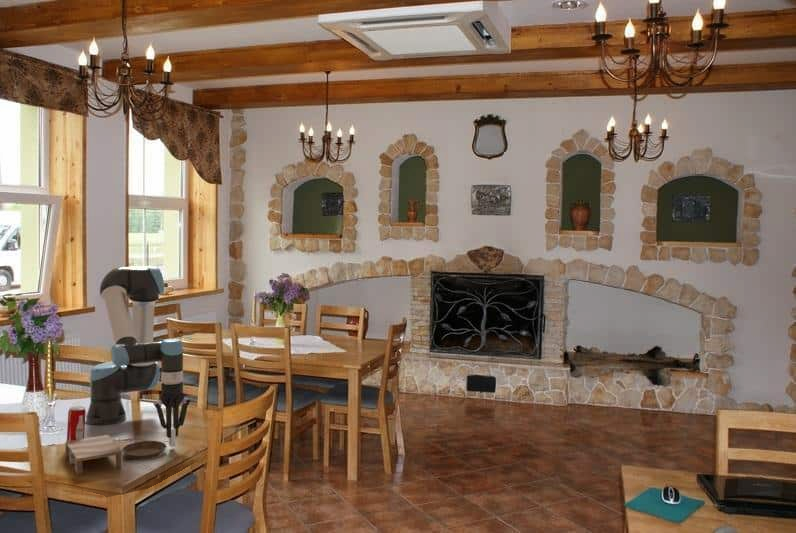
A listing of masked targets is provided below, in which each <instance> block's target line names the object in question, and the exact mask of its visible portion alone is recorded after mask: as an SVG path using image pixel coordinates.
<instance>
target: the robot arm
mask: <svg viewBox="0 0 796 533" xmlns="http://www.w3.org/2000/svg"><path fill="white" fill-rule="evenodd" d="M164 281H165V280H164V277H163V273H162V271H161V269H160V268H159V267H158V266H151V265H145V266H144V265H141V266H118V267H114V268H113V269H111V270H110V271H108V272H107V274H106V275H105V276H104V277H103V279H102V281H101V283H100V286H99V295H100V299H101V301H102V302H103V303H104V304H105V309H106V313H107V317H108V321H109V326H110V329H111V333H112V337H113V341H114V344H113V345H112V346H111V347H110V348H111V349H110V358H111V361H106V362H102V363H99V364H96V365H94V366H93V367H92V368H91V369H90V375H89V381H90V385H89V386H90V403H89V406H88V409H87V412H86V415H85V423H87V424H89V425H95V426H98V425H101V426H102V425H105V426H106V425H112V424H117V423H121V422H123V421H124V420H126V418H127V416H126V414H127V412H126V409H125V407H124V404H123V401H122V394H125V393H134V392H135V393H136V392H145V391H146V392H147V391H149V390H150V391H151V390H153V389H155V388H156V387H157V386H158V385H159V381H161V384H160V385H161V388H160V391H161V392H160V393H161V394H160V397H159V400H157V401H155V402H153V406H154V408H155V409H156V412H157V415H158V420H159V422H160V426H161V428H162V429H166V437H167V438H168V445H169V446H170V447H171V448H174V447H176V442H177V440H176V439H177V437H178V436H179V428H180V427H182V426H184V424H185V420H186V414H187V409H188V407H189V404H190V403H191V399H190V398H188V397H186V396H185V394H184V382H183V381H184V346H183V345H184V343H183V342H184V341H182V339H180V338H179V339H178V338H166V339H164V338H160V339H157V340H155V341H154V327H155V326H154V325H155V324H154V323H155V303H157V302H158V301H159V299H160V296H161V295H163V294H164V291H165V282H164ZM126 297H128V299H129V301H130V302H131V303H132V308H131V311H132V313H131V314H130V311H129V310H130V309H129V307H128V303H127V299H126ZM159 362H160V363H159ZM160 364H161V366H160ZM160 367H161V368H160ZM160 371H161V372H160ZM160 378H161V379H160ZM181 403H182V404H181ZM180 405H181V407H180ZM162 406H164V407H165V416H164V412H163V408H162ZM179 410H180V413H179ZM172 423H173V424H172ZM172 425H173V426H172Z"/></svg>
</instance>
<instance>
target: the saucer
mask: <svg viewBox="0 0 796 533" xmlns="http://www.w3.org/2000/svg"><path fill="white" fill-rule="evenodd" d="M166 449H167V444H166V443H164V442H162V441H159V440H158V441H157V440H142V441H136V442H133V443H128V444H127V445H125V446H123V448H122V449H121V450H122V454H124V455H125V456H126V457H127V458H129V459H131V460H135V461H136V460H137V461H143V460H144V461H145V460H149V459H155V458H156V457H157V458H158V457H159V456H160V455H161V454H162V453H163V452H165V450H166Z"/></svg>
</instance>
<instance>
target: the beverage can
mask: <svg viewBox="0 0 796 533" xmlns="http://www.w3.org/2000/svg"><path fill="white" fill-rule="evenodd" d="M67 414H68V415H67V429H66V431H67V432H66V441H72V440H79V439H85V433H86V432H85V430H86V429H85V428H86V415H87V412H86V408H85V407H84V406H78V405H77V406H72V407H70V408H69V410H68V412H67Z"/></svg>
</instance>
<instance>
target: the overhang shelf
mask: <svg viewBox="0 0 796 533" xmlns="http://www.w3.org/2000/svg"><path fill="white" fill-rule="evenodd" d="M122 455H123V451H122V449H121V448H120V447H119V445H117V443H116V442H115V441H114V440H113V438H111V436H110V435H109V434H105V435H98V436H91V437H87V438H85V437H84V439H79V440H72V441H67V440H66V441H65V460H68V462H69V463H70V464H71V465H72V464H74V471H75V473H76V474H77V477H83V476H84V467H83V466H84V463H83V462H84V461H89V460H95V459H99V458H100V459H101V458H106V457H111V456H112V457H113V456H115V468H116V470H122Z"/></svg>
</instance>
